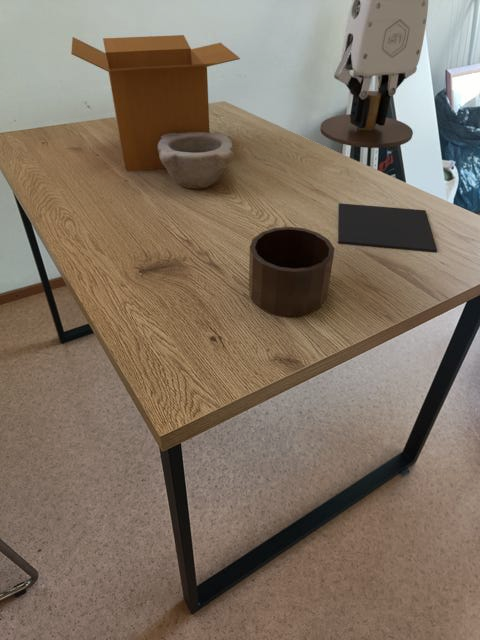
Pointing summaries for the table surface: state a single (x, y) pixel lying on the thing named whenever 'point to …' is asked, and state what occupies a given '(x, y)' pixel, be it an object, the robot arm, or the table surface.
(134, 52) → the box
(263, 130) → the table surface
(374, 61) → the robot arm
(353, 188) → the table surface
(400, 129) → the tin lid
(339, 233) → the mat
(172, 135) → the mortar
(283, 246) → the tin
